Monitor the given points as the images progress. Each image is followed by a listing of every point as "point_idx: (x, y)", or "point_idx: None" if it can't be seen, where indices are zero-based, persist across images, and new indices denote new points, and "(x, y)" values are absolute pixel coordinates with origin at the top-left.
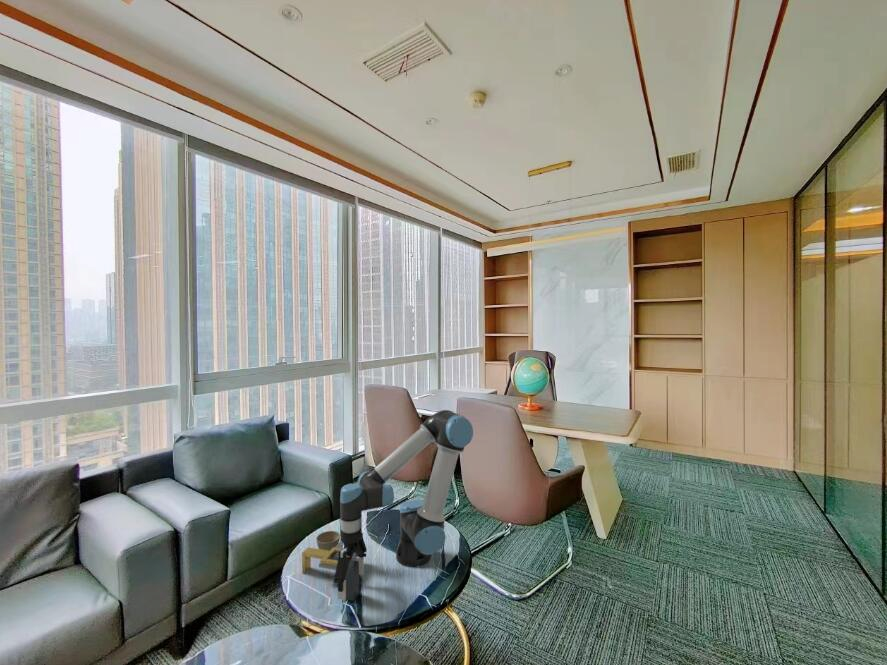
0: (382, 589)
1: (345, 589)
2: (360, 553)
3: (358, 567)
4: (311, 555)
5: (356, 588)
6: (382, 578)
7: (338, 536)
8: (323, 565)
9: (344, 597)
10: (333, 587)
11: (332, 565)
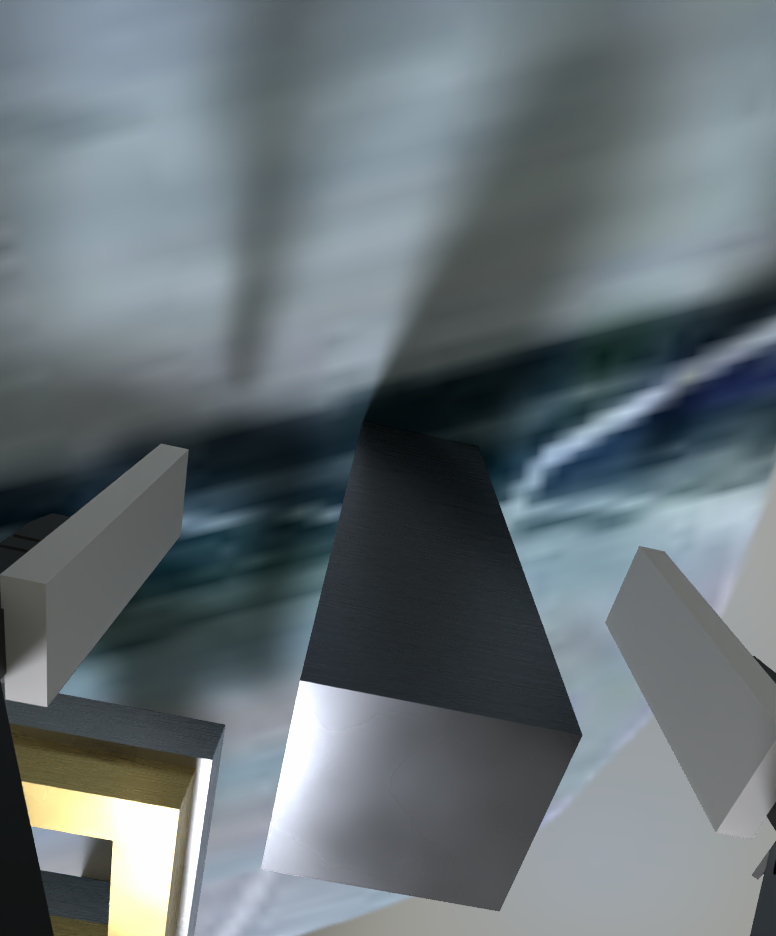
0: (267, 139)
1: (709, 624)
2: (10, 742)
3: (339, 595)
4: None
5: (422, 469)
6: (58, 189)
7: None
8: (189, 928)
9: (677, 573)
10: (293, 670)
11: (183, 865)
